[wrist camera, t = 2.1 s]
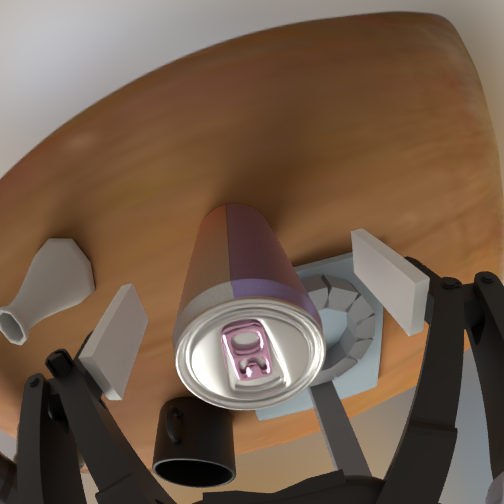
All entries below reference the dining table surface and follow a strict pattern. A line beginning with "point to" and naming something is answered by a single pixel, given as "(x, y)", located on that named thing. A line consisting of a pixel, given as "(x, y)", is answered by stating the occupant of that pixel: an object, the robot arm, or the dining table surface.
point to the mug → (194, 444)
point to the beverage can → (245, 316)
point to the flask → (48, 288)
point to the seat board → (332, 334)
